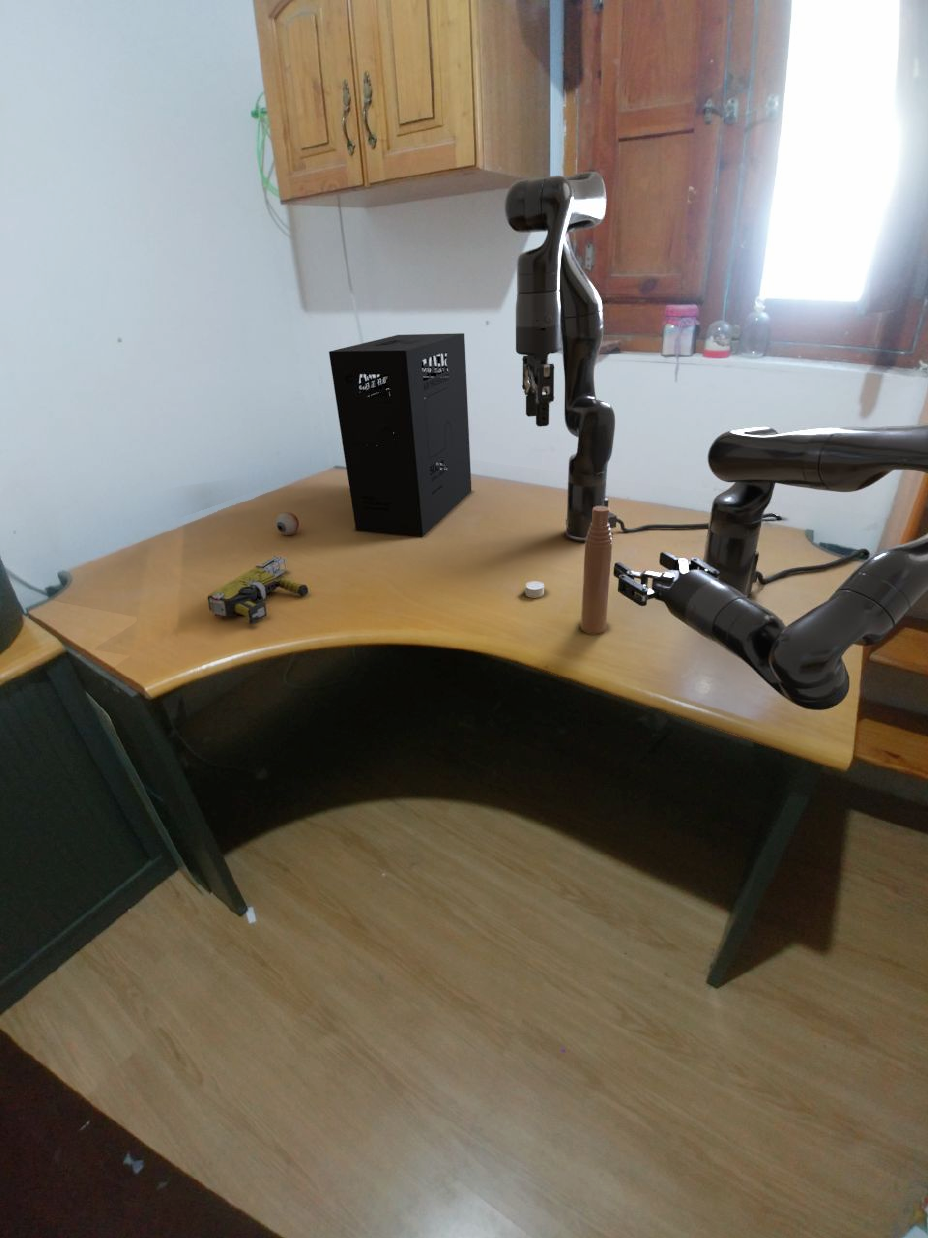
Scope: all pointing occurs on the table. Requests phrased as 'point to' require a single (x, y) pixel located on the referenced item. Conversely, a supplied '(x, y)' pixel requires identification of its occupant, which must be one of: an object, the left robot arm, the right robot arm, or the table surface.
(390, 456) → the cardboard box
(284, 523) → the eyeball
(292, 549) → the table surface
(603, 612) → the bottle
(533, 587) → the cap
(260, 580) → the toy gun
